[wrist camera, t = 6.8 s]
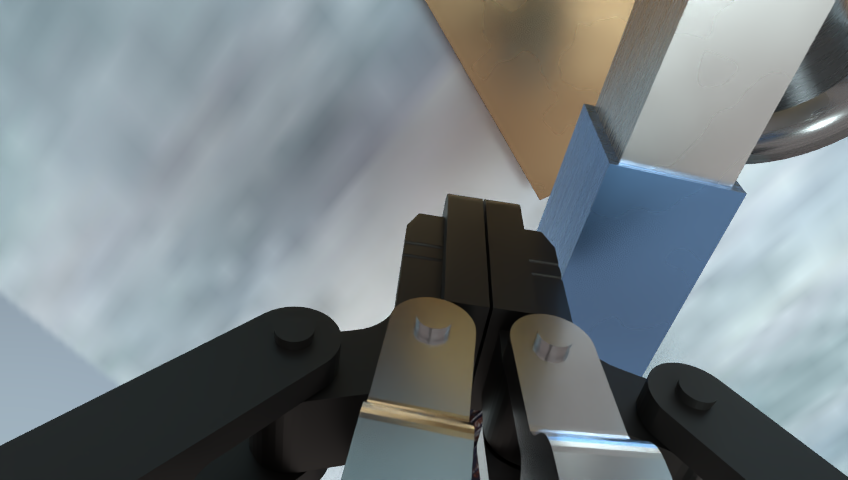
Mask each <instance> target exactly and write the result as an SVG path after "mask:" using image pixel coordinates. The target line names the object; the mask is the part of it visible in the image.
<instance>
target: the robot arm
mask: <svg viewBox="0 0 848 480" xmlns="http://www.w3.org/2000/svg"><path fill="white" fill-rule="evenodd" d="M558 264H559V263H558V259H557V255H556V251H555V247H554V246H553V245H552V244H551V243H550V241H549V240H548V239H547V238H546V237H545V236H544V234H543V233H542V232H539V231H532V230H526V229H524V226H523V220H522V214H521V208H520V205H518V204H512V203H505V202H499V201H492V200H486V199H484V201H483V200H482V199H478V198H472V197H465V196H459V195H452V194H447V197H446V201H445V206H444V211H443V217H439V216H433V215H426V214H418V215H417V216H416V217H415V218H414V219H413V220H412V221H411V222H410V223H409V224H408V225H407V229H406V235H405V242H404V248H403V255H402V261H401V268H400V274H399V281H398V287H397V294H396V301H395V308H394V310H393V311H392V313H391V315H390V316H389V317H388V318H387V319H385V320H384V321H383V322H381V323H379V324H377V325H375V326H372V327H369V328H365V329H360V330H353V331H342V332H340V330H339V327H338V326H337V324H336V323H335V322H334V321H333V320H332V319H331V318H330V317H328V316H327V315H325V314H324V313H321V312H319V311H317V310H313V309H310V308H305V307H284V308H278V309H275V310H271V311H269V312H267V313H264V314H262V315H260V316H258V317H256V318H254V319H252V320H250V321H248V322H246V323H244V324H242V325H240V326H238V327H236V328H234V329H232V330H230V331H228V332H226V333H224V334H222V335H220V336H218V337H216V338H214V339H212V340H210V341H208V342H206V343H204V344H202V345H200V346H198V347H196V348H195V349H193V350H191V351H189V352H187V353H185V354H183V355H181V356H179V357H177V358H175V359H173V360H171V361H169V362H167V363H165V364H163V365H161V366H159V367H157V368H155V369H153V370H151V371H149V372H147V373H145V374H143V375H141V376H139V377H137V378H135V379H133V380H131V381H129V382H127V383H125V384H123V385H121V386H119V387H117V388H115V389H113V390H111V391H109V392H107V393H105V394H103V395H101V396H99V397H97V398H95V399H93V400H91V401H89V402H87V403H85V404H83V405H81V406H79V407H77V408H75V409H73V410H71V411H69V412H67V413H65V414H63V415H61V416H59V417H57V418H55V419H53V420H51V421H49V422H47V423H45V424H43V425H41V426H39V427H37V428H35V429H33V430H31V431H29V432H27V433H25V434H23V435H21V436H19V437H17V438H15V439H13V440H11V441H9V442H7V443H5V444H3V445H1V446H0V480H320V479H321V478H322V477H323V475H324V474H325V472H326V470H327V468H330V467H336V466H342V465H345V467H344V471H343V474H342V478H341V480H471V477H472V462H473V448H474V423H471V422H469V416H470V409H472V410H479V411H482V414H483V425H482V428H481V432H480V435H479V439H478V443H477V455H478V463H479V472H480V480H848V477H847V476H846V475H845V474H843V473H842V472H841V471H839V470H838V469H837V468H835V467H834V466H833V465H831V464H830V463H829V462H827V461H826V460H825V459H823V458H822V457H821V456H819V455H818V454H817V453H815V452H814V451H813V450H811V449H810V448H809V447H807V446H806V445H805V444H803V443H802V442H801V441H799V440H798V439H797V438H795V437H794V436H793V435H791V434H790V433H789V432H787V431H786V430H785V429H783V428H782V427H781V426H779V425H778V424H777V423H775V422H774V421H773V420H771V419H770V418H769V417H767V416H766V415H765V414H764V413H762V412H761V411H760V410H758V409H757V408H756V407H754V406H753V405H752V404H750V403H749V402H748V401H746V400H745V399H744V398H742V397H741V396H740V395H738V394H737V393H736V392H734V391H733V390H732V389H730V388H729V387H728V386H726V385H725V384H724V383H722V382H721V381H720V380H718V379H717V378H715V377H714V376H712V375H711V374H709V373H707V372H705V371H703V370H701V369H699V368H696V367H693V366H690V365H686V364H682V363H664V364H660V365H658V366H656V367H655V368H653V369H652V370H651V372H650V373H649V375H648V377H647V379H646V378H643V377H640V376H638V375H635V374H632V373H630V372H627V371H624V370H622V369H619V368H617V367H614V366H612V365H610V364H608V363H606V362H604V361H602V360H601V359H599V357H598V354H597V351H596V349H595V346H594V344H593V342H592V340H591V339H590V337H589V336H588V335H587V334H586V333H585V332H584V331H583V330H582V329H580V328H579V327H578V326H576V325H575V324H573V322H572V318H571V313H570V309H569V305H568V301H567V297H566V292H565V288H564V284H563V280H561V278H562V276H561V271H560V267H558Z"/></svg>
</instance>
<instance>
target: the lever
mask: <svg viewBox="0 0 848 480" xmlns="http://www.w3.org/2000/svg"><path fill="white" fill-rule="evenodd" d="M835 1H836V0H636V1H635V3H634V6H633V9H632V11H631V14H630V16H629V19H628V22H627V24H626V27H625V30H624V32H623V35H622V37H621V40H620V43H619V45H618V48H617V51H616V53H615V56H614V58H613V61H612V64H611V66H610V69H609V72H608V74H607V77H606V79H605V82H604V85H603V87H602V90H601V93H600V95H599V98H598V101H597V103H596V106H593V105H588V104H584V105H583V107H582V110H581V113H580V115H579V118H578V121H577V124H576V126H575V129H574V132H573V134H572V137H571V140H570V143H569V145H568V148H567V151H566V153H565V156H564V159H563V162H562V164H561V167H560V170H559V172H558V175H557V178H556V180H555V183H554V186H553V189H552V191H551V194H550V197H549V199H548V202H547V205H546V208H545V210H544V213H543V216H542V218H541V221H540V224H539V227H538V229H537V231H539V232H542V233H543V234H544V236H545V237H546V238H547V239H548V240H549V241H550V243H551V244H552V245H553V246H554V247H555V251H556V255H557V259H558V263H559V264H558V267H560V271H561V276H562V278H561V280H563V284H564V288H565V292H566V297H567V301H568V305H569V309H570V313H571V318H572V322H573V324H575V325H576V326H578V327H579V328H580V329H582V330H583V331H584V332H585V333H586V334H587V335H588V336H589V337H590V339H591V340H592V342H593V344H594V346H595V349H596V351H597V354H598V357H599V359H601V360H602V361H604V362H606V363H608V364H610V365H612V366H614V367H617V368H619V369H622V370H624V371H627V372H630V373H632V374H635V375H638V376H640V377H642V375H643V374H644V372H645V370H646V368H647V367H648V365H649V363H650V361H651V360H652V358H653V356H654V354H655V353H656V351H657V349H658V347H659V346H660V344H661V342H662V341H663V339H664V337H665V335H666V334H667V332H668V330H669V328H670V327H671V325H672V323H673V321H674V320H675V318H676V316H677V314H678V313H679V311H680V309H681V307H682V306H683V304H684V302H685V300H686V299H687V297H688V295H689V293H690V292H691V290H692V288H693V287H694V285H695V283H696V281H697V280H698V278H699V276H700V274H701V273H702V271H703V269H704V267H705V266H706V264H707V262H708V260H709V259H710V257H711V255H712V253H713V252H714V250H715V248H716V246H717V245H718V243H719V241H720V239H721V238H722V236H723V234H724V232H725V231H726V229H727V227H728V226H729V224H730V222H731V220H732V219H733V217H734V215H735V213H736V212H737V210H738V208H739V206H740V205H741V203H742V201H743V199H744V198H745V196H746V192H745V191H744V190H743V189H742V187H741V186H740V185H739V183H738V182H737V181H736V179H737V178H738V176H739V174H740V172H741V170H742V169H743V167H744V165H745V163H746V161H747V160H748V158H749V156H750V154H751V152H752V151H753V149H754V147H755V145H756V143H757V142H758V140H759V138H760V136H761V134H762V133H763V131H764V129H765V127H766V125H767V124H768V122H769V120H770V118H771V116H772V115H773V113H774V111H775V109H776V107H777V106H778V104H779V102H780V100H781V98H782V97H783V95H784V93H785V91H786V89H787V88H788V86H789V84H790V82H791V80H792V79H793V77H794V75H795V73H796V71H797V70H798V68H799V66H800V64H801V62H802V61H803V59H804V57H805V55H806V53H807V52H808V50H809V48H810V46H811V44H812V43H813V41H814V39H815V37H816V35H817V34H818V32H819V30H820V28H821V26H822V24H823V23H824V21H825V19H826V17H827V15H828V14H829V12H830V10H831V8H832V6H833V5H834V3H835Z"/></svg>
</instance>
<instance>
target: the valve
mask: <svg viewBox="0 0 848 480" xmlns="http://www.w3.org/2000/svg"><path fill="white" fill-rule="evenodd" d="M425 1H426V3H427V4H428V6H429V8H430V10H431V11H432V13H433V15H434V17H435V18H436V20H437V22H438V24H439V25H440V27H441V29H442V31H443V32H444V34H445V36H446V38H447V39H448V41H449V43H450V45H451V46H452V48H453V50H454V52H455V53H456V55H457V57H458V59H459V60H460V62H461V64H462V65H463V67H464V69H465V71H466V72H467V74H468V76H469V78H470V79H471V81H472V83H473V85H474V86H475V88H476V90H477V92H478V93H479V95H480V97H481V99H482V100H483V102H484V104H485V106H486V107H487V109H488V111H489V113H490V114H491V116H492V118H493V119H494V121H495V123H496V125H497V126H498V128H499V130H500V132H501V133H502V135H503V137H504V139H505V140H506V142H507V144H508V146H509V147H510V149H511V151H512V153H513V154H514V156H515V158H516V160H517V161H518V163H519V165H520V167H521V168H522V170H523V172H524V173H525V175H526V177H527V179H528V180H529V182H530V184H531V186H532V187H533V189H534V191H535V193H536V194H537V196H538V198H539V200H541V199H544V198H546V197H548V196H550V194H551V191H552V189H553V186H554V183H555V180H556V178H557V175H558V172H559V170H560V167H561V164H562V162H563V159H564V156H565V153H566V151H567V148H568V145H569V143H570V140H571V137H572V134H573V132H574V129H575V126H576V124H577V121H578V118H579V115H580V113H581V110H582V107H583V105H584V104H588V105H593V106H596V103H597V101H598V98H599V95H600V93H601V90H602V87H603V85H604V82H605V79H606V77H607V74H608V72H609V69H610V66H611V64H612V61H613V58H614V56H615V53H616V51H617V48H618V45H619V43H620V40H621V37H622V35H623V32H624V30H625V27H626V24H627V22H628V19H629V16H630V14H631V11H632V9H633V6H634V3H635V1H636V0H425ZM847 136H848V0H836V1H835V3H834V5H833V6H832V8H831V10H830V12H829V14H828V15H827V17H826V19H825V21H824V23H823V24H822V26H821V28H820V30H819V32H818V34H817V35H816V37H815V39H814V41H813V43H812V44H811V46H810V48H809V50H808V52H807V53H806V55H805V57H804V59H803V61H802V62H801V64H800V66H799V68H798V70H797V71H796V73H795V75H794V77H793V79H792V80H791V82H790V84H789V86H788V88H787V89H786V91H785V93H784V95H783V97H782V98H781V100H780V102H779V104H778V106H777V107H776V109H775V111H774V113H773V115H772V116H771V118H770V120H769V122H768V124H767V125H766V127H765V129H764V131H763V133H762V134H761V136H760V138H759V140H758V142H757V143H756V145H755V147H754V149H753V151H752V152H751V154H750V156H749V158H748V160H747V161H746V163H745V164H756V163H764V162H771V161H777V160H782V159H787V158H791V157H795V156H798V155H802V154H805V153H808V152H811V151H815V150H817V149H820V148H823V147H825V146H828V145H830V144H833V143H835V142H837V141H839V140H841V139H843V138H845V137H847Z"/></svg>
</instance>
